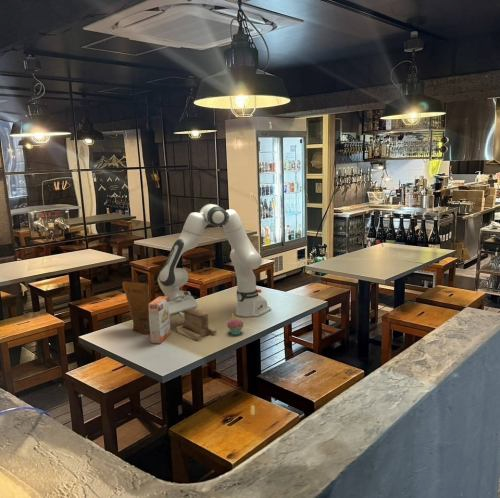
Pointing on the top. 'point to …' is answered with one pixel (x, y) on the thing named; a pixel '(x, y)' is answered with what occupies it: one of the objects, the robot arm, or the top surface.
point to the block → (196, 322)
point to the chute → (191, 334)
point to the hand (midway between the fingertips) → (186, 318)
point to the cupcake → (235, 326)
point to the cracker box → (159, 319)
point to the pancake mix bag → (138, 305)
